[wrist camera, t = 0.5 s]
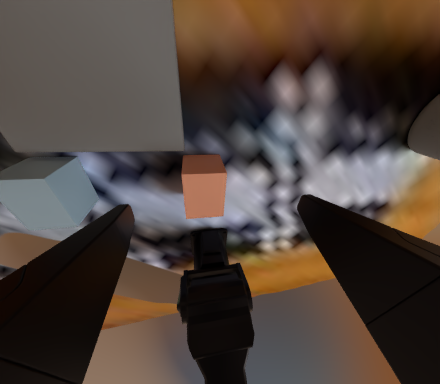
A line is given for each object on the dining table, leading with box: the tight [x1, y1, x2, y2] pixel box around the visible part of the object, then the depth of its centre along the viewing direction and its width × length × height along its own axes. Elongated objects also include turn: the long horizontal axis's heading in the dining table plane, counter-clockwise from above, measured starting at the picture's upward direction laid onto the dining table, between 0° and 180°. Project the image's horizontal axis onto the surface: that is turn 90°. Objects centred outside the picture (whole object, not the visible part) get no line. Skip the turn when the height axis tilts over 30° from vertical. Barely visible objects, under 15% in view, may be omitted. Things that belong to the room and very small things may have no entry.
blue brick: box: [0, 157, 99, 230], centre depth 17 cm, size 6×4×5 cm
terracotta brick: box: [181, 155, 227, 219], centre depth 19 cm, size 6×4×5 cm
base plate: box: [0, 0, 185, 152], centre depth 12 cm, size 16×16×1 cm
